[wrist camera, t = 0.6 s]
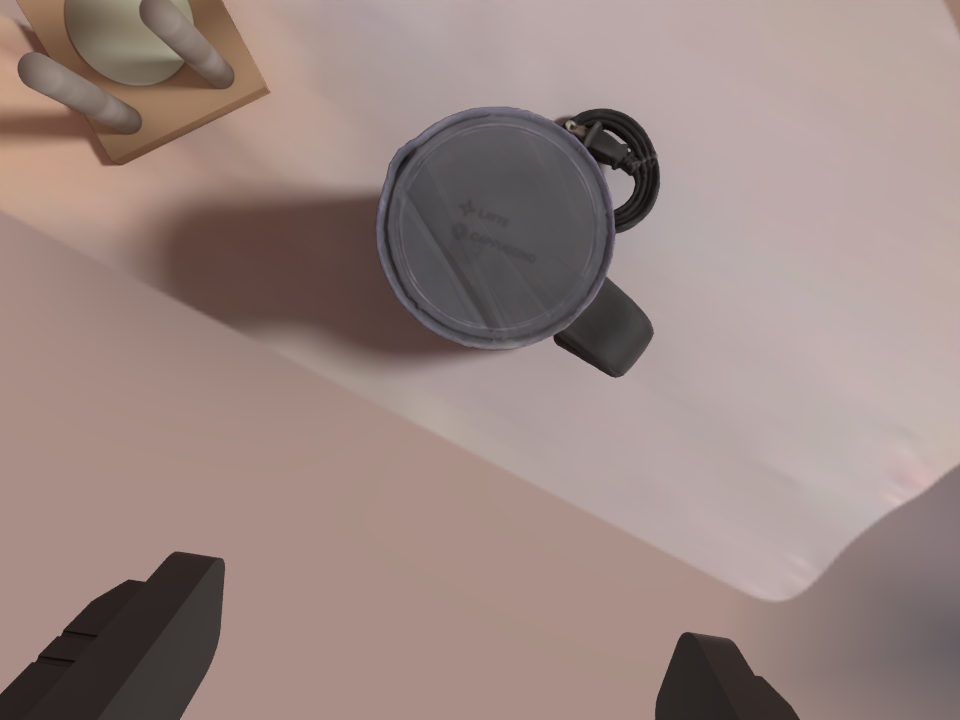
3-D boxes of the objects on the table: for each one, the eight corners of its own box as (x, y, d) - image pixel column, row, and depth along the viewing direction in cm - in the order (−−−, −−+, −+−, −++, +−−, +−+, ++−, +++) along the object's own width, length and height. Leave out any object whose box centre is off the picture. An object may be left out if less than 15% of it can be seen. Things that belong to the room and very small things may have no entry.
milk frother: (380, 296, 34) (342, 307, 19) (458, 57, 32) (482, -131, 18) (577, 364, 36) (678, 421, 21) (660, 142, 34) (833, 37, 20)
